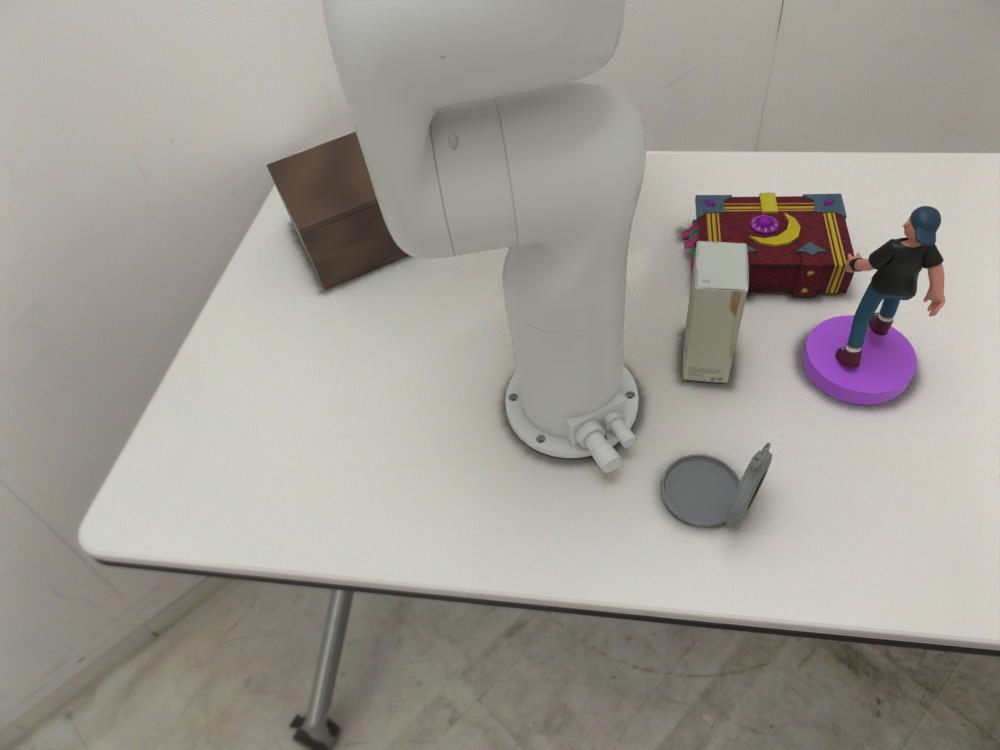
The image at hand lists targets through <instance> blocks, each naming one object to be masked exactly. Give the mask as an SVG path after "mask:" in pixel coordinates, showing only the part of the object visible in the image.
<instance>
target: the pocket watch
mask: <svg viewBox="0 0 1000 750" xmlns="http://www.w3.org/2000/svg"><path fill="white" fill-rule="evenodd" d="M770 448H771V442H766V444H765V445H764V446H763V447H762V448H761V450H758V451H757V452H756V453H755V454H753V456H752V457H751V460H750V461H749V463H748V465H747V467H746V469H745V471H744V472H743V474H742V476H741V478H739V476H738V474H737V472H736V471H735V470H734V469H732V468H731V467H730V465H729V464H727V463H726V462H724V461H722V460H721V459H718V458H717V457H714V456H711V455H707V454H699V453H697V454H688V455H685V456H681V457H679V458H678V459H676V460H674V461H672V462H671V463H670V464H669V465H668V467H666V469H665V471H664V472H663V475H662V478H661V481H660V489H661V490H660V491H661V496H662V500H663V502H664V504H665V505H666V507H667V509H668V510H669V511H670V512H671V514H673V515H674V516H675V517H677V518H678V519H680V520H681V521H682V522H685V523H687V524H689V525H692V526H695V527H701V528H702V527H704V528H706V527H707V528H709V527H711V528H712V527H716V526H720V525H722V524H725V526H727V527H729V528H731V529H738V528H739V527H740V526H741V525H742V524H743V522H744V520H745V518H746V516H747V515H748V512H749V511H750V509H751V507H752V505H753V503H754V501H755V499H756V498H757V495H758V492H759V491H760V488H761V487H762V485H763V483H764V481H765V478H766V476H767V474H768V471H769V469H770V466H771V463H772V459H773V454H772V453H771V452H770V451H769V450H770Z"/></svg>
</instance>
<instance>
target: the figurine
mask: <svg viewBox="0 0 1000 750" xmlns="http://www.w3.org/2000/svg"><path fill="white" fill-rule="evenodd" d="M941 224H942V215H941V213H940V211H939V210H938V209H937V208H936V207H933V206H930V205H922V206H921V205H920V206H919V207H917V208H915V209H913V210H912V212H911V214H910V216H909V217H908V219H907V221H905V222H904V224H903V225H902V228H904V229H903V234H904V236H905V237H900V238H890V239H889V240H887V241H886V242H885V243H883V244H882V245H881V246H880V247H878V248H876V249H875V250H874V251H872V252H871V253H870V254H869V255H868V258H863V257H861V253H860V252H856V253H855V255H854V256H855V257H853V256H851V254H848V260H847V261H846V265H845V266H846V272H850V273H853V272H854V273H855V272H856V273H861V272H870V271H873V270H876V271H875V273H874V274H873V275H872V277H871V279H870V283H869V284H868V286H867V288H866V289H865V292H864V294H863V295H862V297H861V299H860V301H859V303H858V306H857V308H856V311H855V313H854V314H851V315H850V314H849V315H839V316H834V317H830V318H828V319H827V318H826V319H825V320H823V321H821V322H820V323H818V324H817V325H816V326H815V327H814V328H812V329H811V332H810V333H809V335H808V337H807V339H806V342H805V345H804V348H803V351H802V355H801V363H802V367H803V370H804V372H805V374H806V376H807V378H808V379H809V380H810V381H811V383H812V384H813V385H814V386H815V387H816V388H817V389H819V390H820V391H821V392H823V393H825V394H826V395H828V396H829V397H831V398H834V399H836V400H838V401H841V402H843V403H848V404H852V405H859V406H875V405H880V404H881V405H882V404H885V403H888V402H891V401H893V400H895V399H896V398H898V397H900V396H901V394H903V392H904V391H906V389H907V388H908V385H909V384H910V382H911V380H912V378H913V376H914V375H915V373H916V370H917V365H918V358H917V354H916V352H915V349H914V346H913V345H912V343H911V342H910V340H908V338H907V337H905V335H904V334H903V333H902V332H900V331H899V330H898V329H896V328H895V327H893V323H894V317H895V316H896V315H897V311H898V308H899V305H900V303H901V301H909V300H911V299H913V298H914V297H916V296H917V292H918V280H919V275H920V272H921V271H922V270H923V269H926V270H927V276H928V281H929V287H928V289H927V291H926V295H925V296H924V298H923V300H922V301H923V303H927V302H928V301H931V302H930V304H929V305H928V307H927V309H926V310H927V311H928V312H929V313H928V317H935V316H937V315H938V313H939V312H940V310H941V309H942V308H943V307H944V306H945V304H946V296H945V270H944V265H943V262H944V257H943V255H942V254H941V252H940V250H939V249H938V246H937V245H936V243H937V232H938V230H939V228H940V226H941ZM881 303H882V304H881ZM880 304H881V306H880ZM879 306H880V309H879V312H876V311H877V310H878V308H879Z"/></svg>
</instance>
